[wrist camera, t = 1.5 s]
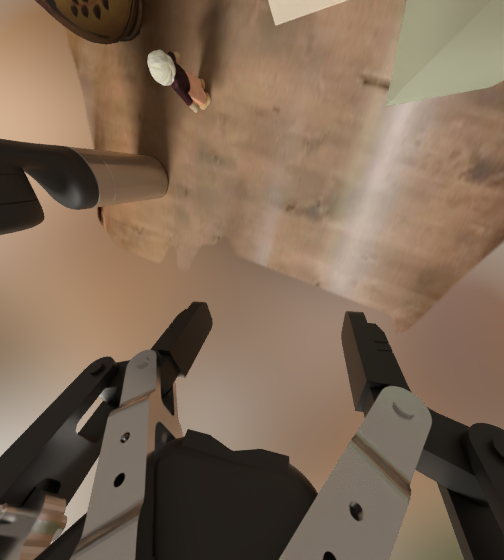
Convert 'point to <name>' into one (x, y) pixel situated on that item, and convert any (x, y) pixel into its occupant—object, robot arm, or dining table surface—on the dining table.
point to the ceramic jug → (98, 18)
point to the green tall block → (447, 49)
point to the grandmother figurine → (178, 79)
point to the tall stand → (297, 8)
